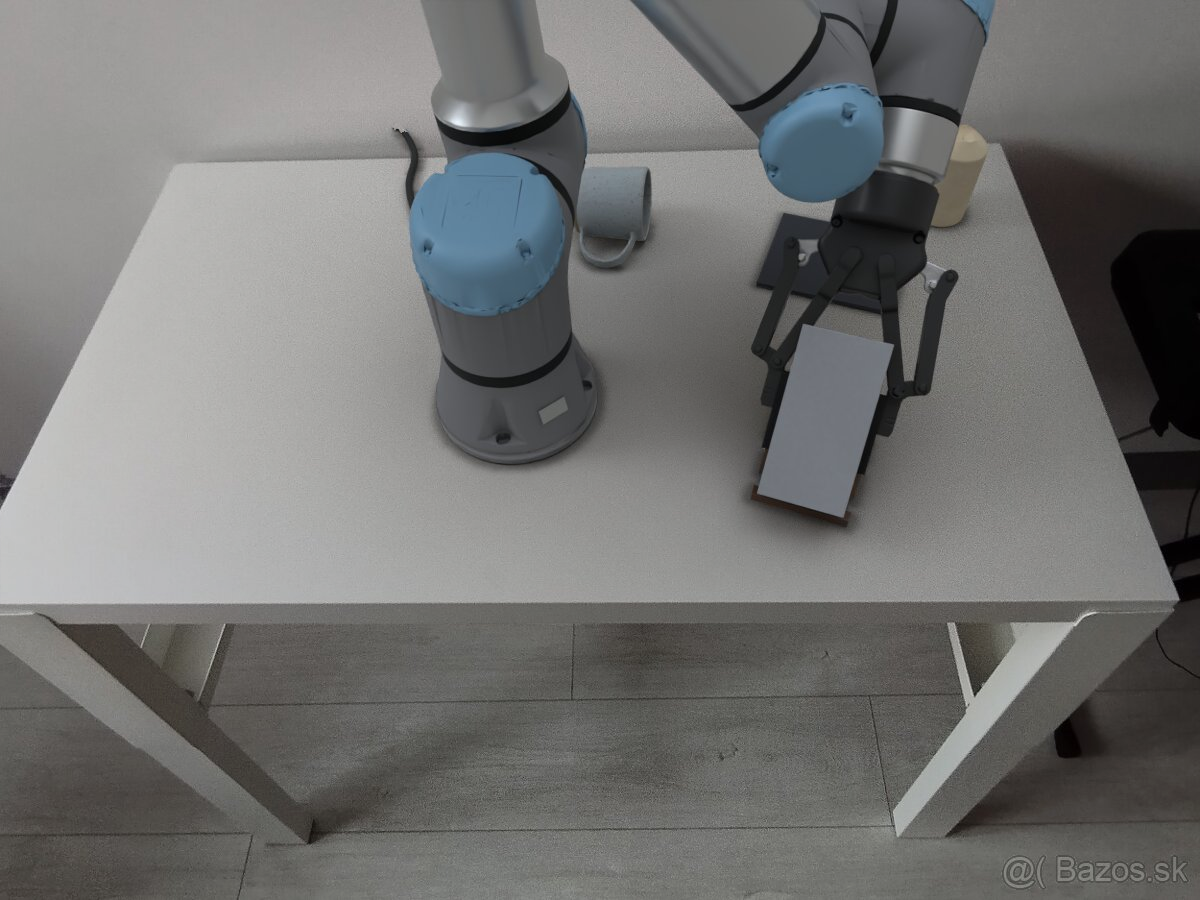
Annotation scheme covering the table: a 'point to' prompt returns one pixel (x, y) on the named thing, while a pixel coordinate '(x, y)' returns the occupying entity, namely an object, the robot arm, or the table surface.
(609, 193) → the ceramic mug
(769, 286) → the mat
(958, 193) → the candle
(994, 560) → the table surface
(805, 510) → the phone stand
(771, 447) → the grey box
